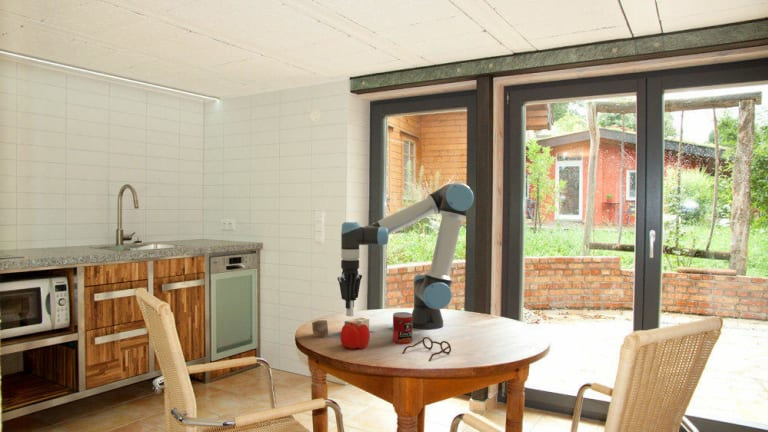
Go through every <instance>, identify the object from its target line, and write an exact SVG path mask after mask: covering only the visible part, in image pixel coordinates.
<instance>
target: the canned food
mask: <svg viewBox="0 0 768 432" xmlns="http://www.w3.org/2000/svg"><path fill="white" fill-rule="evenodd" d="M392 341H393V342H394V343H395V344H399V345H408V344H411V343H412V341H413V327H412V312H406V311H397V312H394V313H392Z"/></svg>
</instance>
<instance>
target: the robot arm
mask: <svg viewBox="0 0 768 432" xmlns="http://www.w3.org/2000/svg"><path fill="white" fill-rule="evenodd" d="M474 200H475V199H474V192H473V190H472V189H471V188H470V186H468V184H465V183H461V182H454V183H449V184H446V185H443V186H442V187H440V188H438V189H437V190H435V191H434V192H431V193H429V194H428V195H427V196H426V198H425V199H422V200H420V201H418V202H416V203H413V204H411V205H410V206H408V207H406V208H403V209H401V210H399V211H397V212H394V213H393V214H390V215H388V216H386V217H384V218H381V219H380V220H378V221H375V222H373V223H372V224H369V225H365V226H361V225H360V222H357V221H345V222H343V223H342V224H341V231H340V233H341V234H340V235H341V236H340V238H341V239H340V242H341V246H340V249H341V253H340V254H341V255H340V256H341V262H340V267H341V270H342V272H341V275H340V277H339V276H337V281H338V284H339V285H338V286H339V289H340V296H341V300H343V301H345V310H346V311H345V316H347V317H349V318H350V317H354V308H355V301H356V300H357V299H358V298H359V294H360V293H359V292H360V286H361V281H362V278H363V275H362V274H360V273H359V269H360V260H359V259H360V246H385V245H387V244H388V243H389V235H391V234H393V233H395V232H397V231H400V230H402V229H404V228H406V227H408V226H411V225H412V224H415V223H417V222H419V221H421V220H423V219H425V218H427V217H429V216H431V215H433V214H434V215H439V214H440V215H441V220H440V224H439V228H438V233H437V237H436V240H435V241H436V242H435V246H434V250H433V251H434V252H433V255H432V259H431V263H430V264H431V265H430V267H429V268H430V269H429V270H428V271H427V272H426V273H425V274H417V275H414V280H413V310H412V312H411V314H412V328H417V329H424V330H425V329H426V330H432V329H433V330H434V329H439V328H442V327H444V319H443V316H442V312H441V310H442V309H445V307H448V305H449V304H450V303H451V300H452V297H453V293H452V289H451V286H452V282H453V279H452V277H451V276H450V275H451V271H452V266H453V262H454V256H455V252H456V248H457V244H458V239H459V234H460V230H461V226H462V221H463V220H464V219H466V218H467V215H468V210H469V209H470V208H471V206H473V203H474Z"/></svg>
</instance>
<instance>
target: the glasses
mask: <svg viewBox="0 0 768 432" xmlns="http://www.w3.org/2000/svg"><path fill="white" fill-rule="evenodd" d="M425 339H426V340H428V341H429V342H430V347H428V346H427V345H426V342H425ZM421 343H422V344H423V346H424V348H425V349H429V350H432V349H433V347H434V344H436V345H439V347H440V350H439V351H437V352H434V353H432V354H431V355H430V357H429V359H428V362H431V361H432V359H433V357H434V356H436V355H440V354H442V353H444V354H450V353H451V351H452V347H451V345H450V343H449V341H447V340H443V341H441V342H438V341H436V340H435V341H433V340H432V339H431V338H430V337H429V336H424V337H423V338H422V339H421V340H419V341H417V342H416V343H414V344H412V345H407V346H405V347H404V349H403V351H402V353H401V354H402V355H404V354H405V352H406V351H407V349H408V348H414V347H416V346H418V345H419V344H421ZM443 344H446V345H447V346H446V347H444V348H443ZM448 349H449V350H448ZM446 350H448V351H446Z"/></svg>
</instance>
